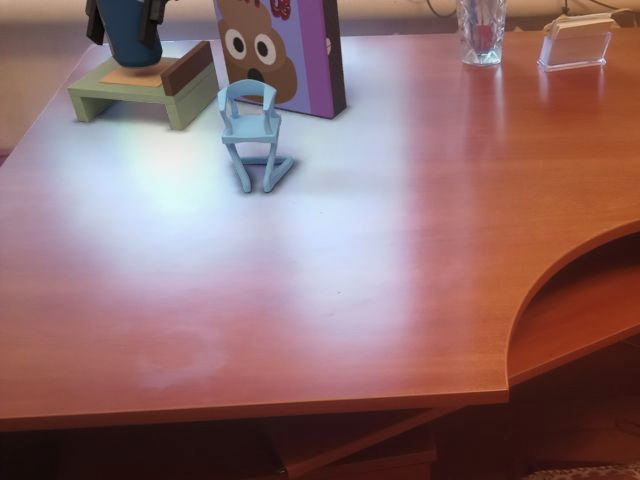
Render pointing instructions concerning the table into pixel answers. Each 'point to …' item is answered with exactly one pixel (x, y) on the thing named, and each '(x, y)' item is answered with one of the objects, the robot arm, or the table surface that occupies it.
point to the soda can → (127, 34)
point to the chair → (253, 131)
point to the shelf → (151, 86)
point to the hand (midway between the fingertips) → (120, 42)
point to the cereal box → (285, 52)
